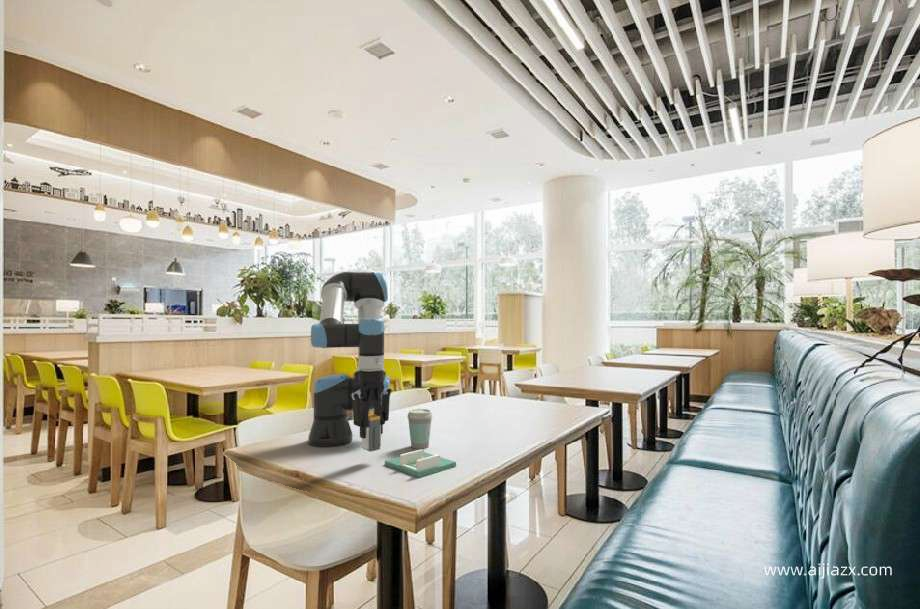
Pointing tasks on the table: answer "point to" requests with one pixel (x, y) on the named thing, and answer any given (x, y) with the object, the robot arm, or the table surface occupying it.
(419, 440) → the coffee cup
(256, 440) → the table surface
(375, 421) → the plug
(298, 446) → the table surface
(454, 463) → the board
